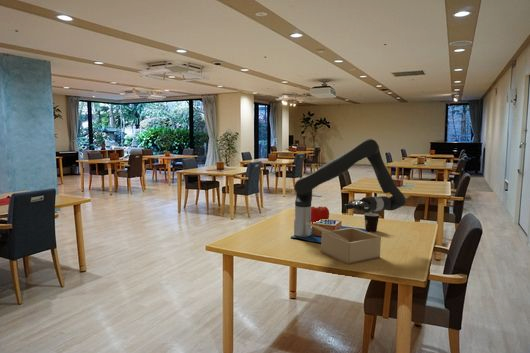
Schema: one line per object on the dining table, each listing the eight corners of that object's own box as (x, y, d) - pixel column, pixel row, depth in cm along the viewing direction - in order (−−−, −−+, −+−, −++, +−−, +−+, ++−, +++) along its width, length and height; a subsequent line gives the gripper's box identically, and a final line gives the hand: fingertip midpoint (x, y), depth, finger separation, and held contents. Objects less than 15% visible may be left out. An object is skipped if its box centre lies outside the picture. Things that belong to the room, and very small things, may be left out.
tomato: (311, 227, 245) (312, 208, 243) (305, 221, 259) (306, 204, 257) (332, 226, 247) (332, 208, 245) (325, 221, 261) (325, 204, 259)
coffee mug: (378, 232, 233) (379, 216, 231) (364, 232, 234) (364, 215, 233) (377, 228, 244) (378, 212, 243) (363, 227, 246) (363, 211, 244)
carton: (351, 246, 206) (352, 227, 205) (381, 257, 188) (382, 237, 187) (320, 251, 196) (320, 232, 195) (348, 264, 178) (349, 243, 177)
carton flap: (323, 231, 194) (306, 221, 188) (348, 240, 178) (330, 230, 172) (322, 232, 194) (305, 223, 188) (348, 241, 178) (330, 232, 172)
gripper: (363, 194, 201) (336, 196, 192) (382, 199, 189) (355, 201, 181) (362, 208, 202) (335, 211, 193) (381, 214, 190) (354, 217, 182)
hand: (345, 206), depth 187 cm, fingers closed
